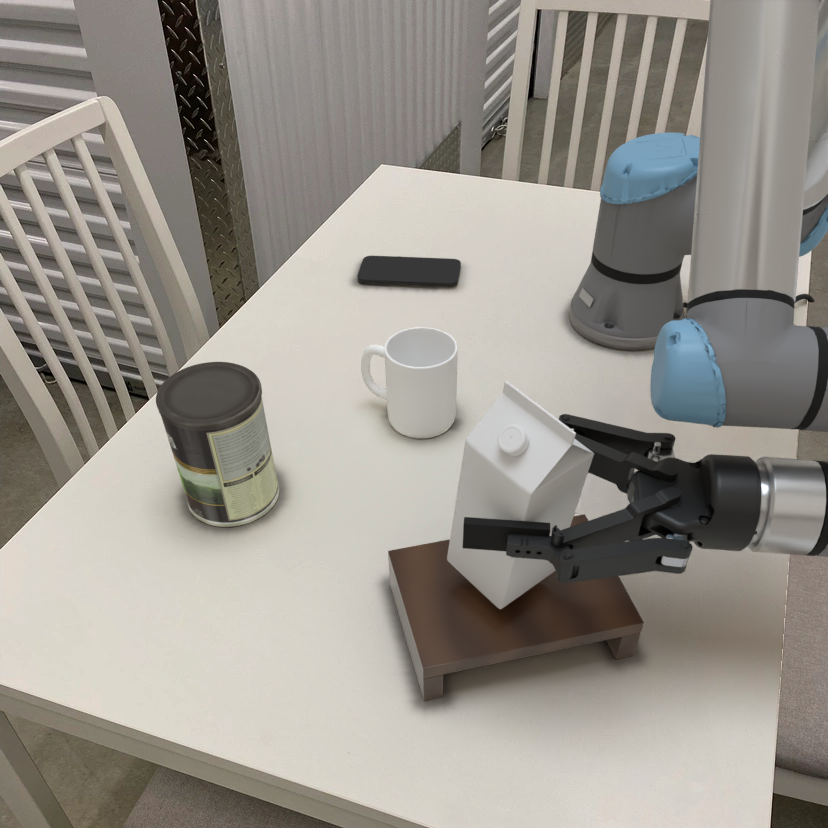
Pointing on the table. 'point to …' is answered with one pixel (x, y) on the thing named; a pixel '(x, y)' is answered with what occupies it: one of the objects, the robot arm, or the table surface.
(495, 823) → the table surface
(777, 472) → the robot arm
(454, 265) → the phone
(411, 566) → the shelf
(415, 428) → the cup
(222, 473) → the coffee can
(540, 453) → the milk carton
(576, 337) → the table surface
